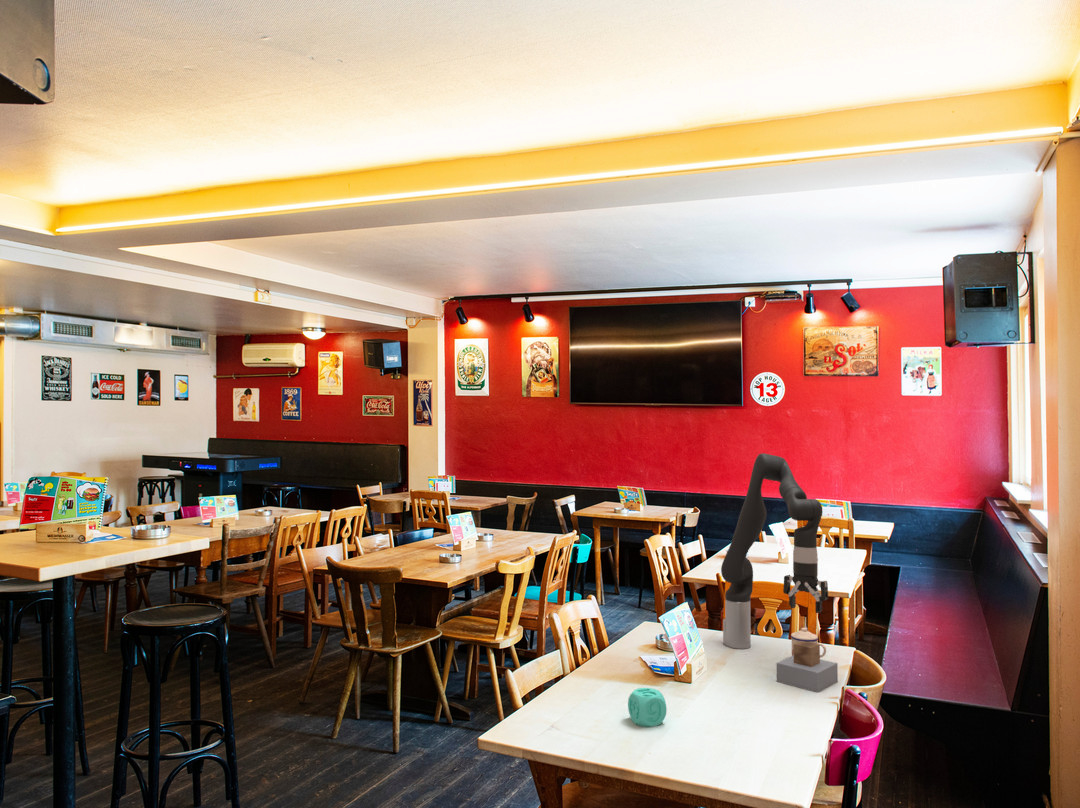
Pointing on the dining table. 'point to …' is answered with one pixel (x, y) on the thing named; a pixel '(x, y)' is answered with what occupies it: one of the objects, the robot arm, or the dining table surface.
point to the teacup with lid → (805, 639)
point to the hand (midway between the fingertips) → (805, 610)
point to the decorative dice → (647, 707)
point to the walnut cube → (806, 653)
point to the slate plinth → (807, 674)
